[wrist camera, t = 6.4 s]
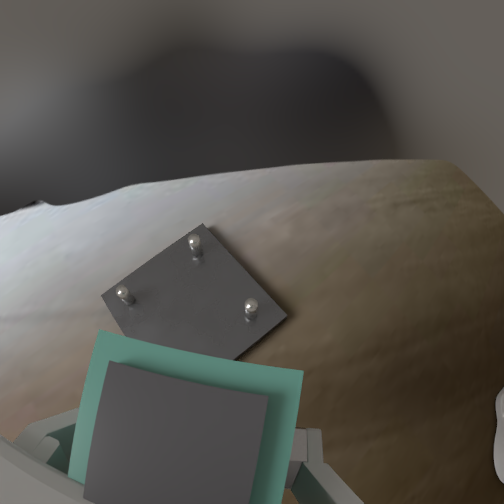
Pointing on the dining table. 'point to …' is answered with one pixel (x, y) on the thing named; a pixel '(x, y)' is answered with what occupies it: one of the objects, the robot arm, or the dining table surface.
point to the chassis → (194, 300)
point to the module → (182, 427)
